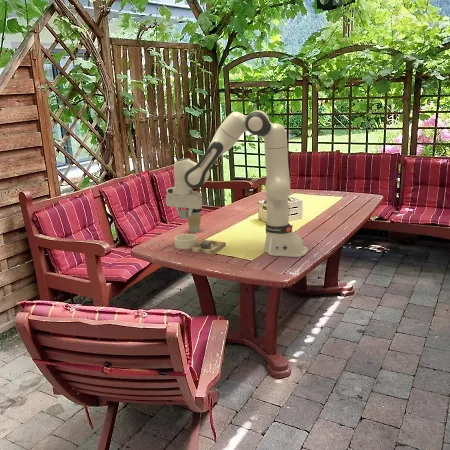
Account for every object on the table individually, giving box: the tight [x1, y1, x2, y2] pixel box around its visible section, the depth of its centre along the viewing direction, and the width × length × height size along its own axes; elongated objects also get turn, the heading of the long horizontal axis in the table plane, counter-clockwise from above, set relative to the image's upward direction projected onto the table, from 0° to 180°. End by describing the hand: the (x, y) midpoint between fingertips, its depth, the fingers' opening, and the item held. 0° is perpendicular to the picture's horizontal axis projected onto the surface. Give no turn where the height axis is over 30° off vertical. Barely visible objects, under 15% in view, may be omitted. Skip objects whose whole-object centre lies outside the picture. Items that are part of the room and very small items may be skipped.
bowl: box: [174, 233, 199, 250], centre depth 252 cm, size 12×12×6 cm
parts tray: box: [190, 239, 227, 255], centre depth 246 cm, size 13×14×3 cm
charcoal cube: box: [200, 241, 211, 250], centre depth 243 cm, size 4×4×4 cm
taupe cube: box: [178, 209, 190, 220], centre depth 247 cm, size 4×4×4 cm
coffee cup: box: [185, 207, 203, 234], centre depth 276 cm, size 9×9×15 cm
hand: (184, 215), depth 248 cm, fingers closed on taupe cube, 4 cm apart
